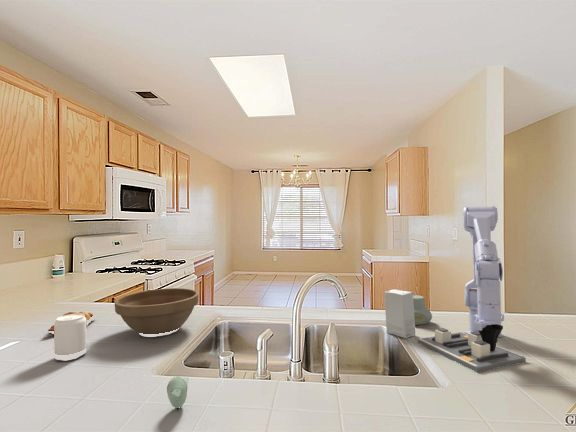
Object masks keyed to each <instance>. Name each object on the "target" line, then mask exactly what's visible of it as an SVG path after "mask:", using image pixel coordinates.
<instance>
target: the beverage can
mask: <svg viewBox="0 0 576 432" xmlns="http://www.w3.org/2000/svg"><path fill="white" fill-rule="evenodd" d="M63 315H64V314H63ZM55 319H56V320H55V322H54V324H53V325H54V335H53V336H54V337H53V338H54V347H53V349H54V352H53V353H55V354H57V355H69V354H74V353H77V352H80V351H82V350H84V349H85V348H86V347H88V345H87V343H88V342H87V339H88V338H87V337H88V334H87V332H88V331H87V329H88V328H87V327H88V326H87V324H86V318H85V315H84V314H69V315H64V316H62V315H61V316H58V317H57V318H55Z"/></svg>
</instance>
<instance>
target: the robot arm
mask: <svg viewBox="0 0 576 432" xmlns="http://www.w3.org/2000/svg"><path fill="white" fill-rule="evenodd" d="M462 211H463V212H462V216H463V218H462V221H463V228H464V231H466V232H469V233H470V237H471V245H472V249H471V250H472V276H473V277H472V278H473V279H471V280H469V281H468V282H466V283H465V285H464V292H463V295H464V305H465V306H466V307H467V308H468V313H469V315H468V317H469V318H468V319H469V321H468V322H469V323H468V325H469V329H467V330H463V333H465V334H468V333H471V332H475V331H477V332H479V333H480V335H481V338H482V341H484V342H486V343H487V344H490V351H491V352H493V351H495V348H496V346H497V342H498V339H499V338H501V337H504V334H502V331H503V329H504V326H503V325H502V322H504V321H505V314H504V313H502V303H501V302H502V301H501V300H502V299H501V291H502V290H501V282H502V280H503V276H504V271H503V265H502V261H501V258H500V257H499V256H498V250H497V245H496V243H495V242H494V241H492V239H491V238H492V237H491V232H493V231H495V229H496V226H497V224H498V221H499V220H498V219H499V218H498V217H499V216H498V214H499V213H498V208H497V206H496V205H492V206H464V208H463V210H462Z"/></svg>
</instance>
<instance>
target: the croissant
mask: <svg viewBox="0 0 576 432" xmlns="http://www.w3.org/2000/svg"><path fill="white" fill-rule="evenodd" d="M69 314H84V315H85V318H86V322H87V320H89V319H90V317H92V316H93V313H91V312H84V311H79V312H76V311H71V312H67V313H64V314H62V315H61V316H64V315H69ZM48 331H54V324H53V325H52V326H51V327H50V328H49V329H48V330H47V332H48Z"/></svg>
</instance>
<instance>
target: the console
mask: <svg viewBox="0 0 576 432" xmlns="http://www.w3.org/2000/svg"><path fill="white" fill-rule="evenodd" d="M417 343H418V344H419V345H421V346H423V347H426V348H427V349H429V350H431V351H433V352H435V353H437V354H439V355H441V356H444V357H445V358H447V359H449V360H452V361H453V360H454V361H453V362H455V361H456V362H455V363H457V362H458V364H459V363H460V364H459V365H461V364H462V365H461V366H463V365H464V367H465V366H466V367H465V368H467V367H468V368H467V369H469V368H470V369H469V370H471V369H472V370H471V371H473V370H474V371H473V372H475V373H480V371H481V372H484V370H485V371H489V369H490V370H493V368H495V369H498V367H499V368H503V366H504V367H508V365H509V366H513V365H517V363H518V364H521V363H526V360H527V359H526V358H527V357H526V356H524V355H522V354H519V353H516V352H514V351H511V350H509V349H506V348H504V347H501V346H498V345H496V348H495V351H493V352H491V351H490V355H489V356H484V357H479V358H478V357H475V356H473V355H471V346H470V345H468V334H466V333H464V331H462V332H455V333H454V332H453V333H451V341H449V342H444V343H443V344H441V343H438V342H436V341H435V335H434V336H429V337H424V338H423V337H422V338H418V339H417Z"/></svg>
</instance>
